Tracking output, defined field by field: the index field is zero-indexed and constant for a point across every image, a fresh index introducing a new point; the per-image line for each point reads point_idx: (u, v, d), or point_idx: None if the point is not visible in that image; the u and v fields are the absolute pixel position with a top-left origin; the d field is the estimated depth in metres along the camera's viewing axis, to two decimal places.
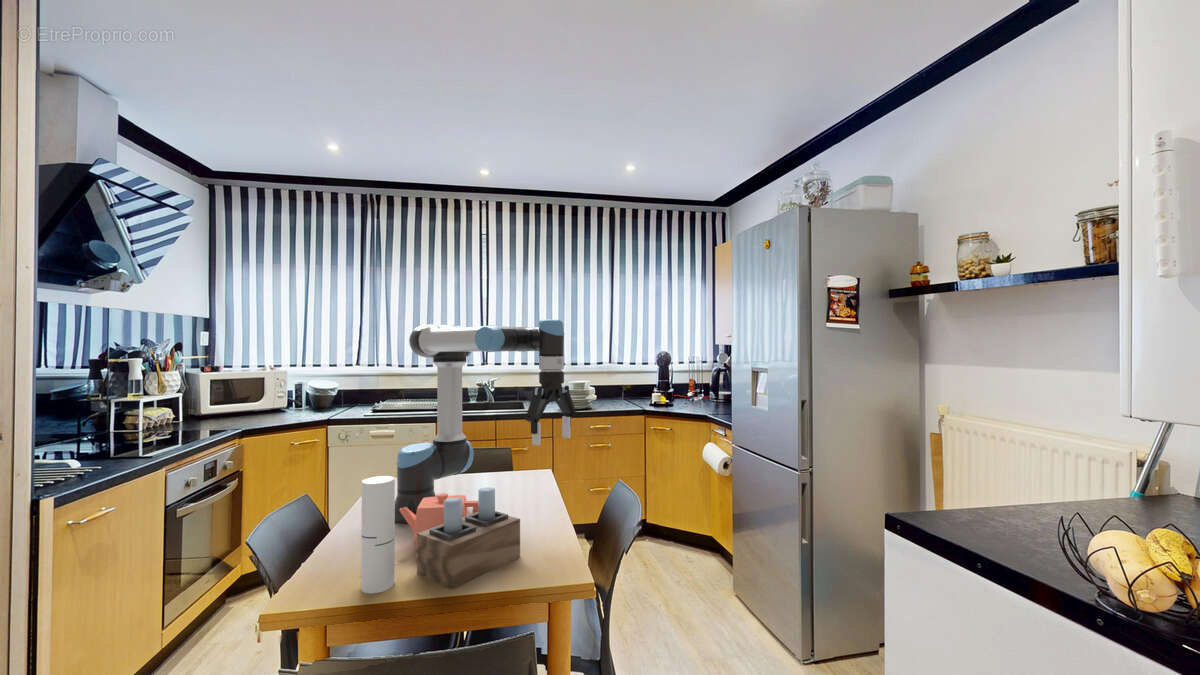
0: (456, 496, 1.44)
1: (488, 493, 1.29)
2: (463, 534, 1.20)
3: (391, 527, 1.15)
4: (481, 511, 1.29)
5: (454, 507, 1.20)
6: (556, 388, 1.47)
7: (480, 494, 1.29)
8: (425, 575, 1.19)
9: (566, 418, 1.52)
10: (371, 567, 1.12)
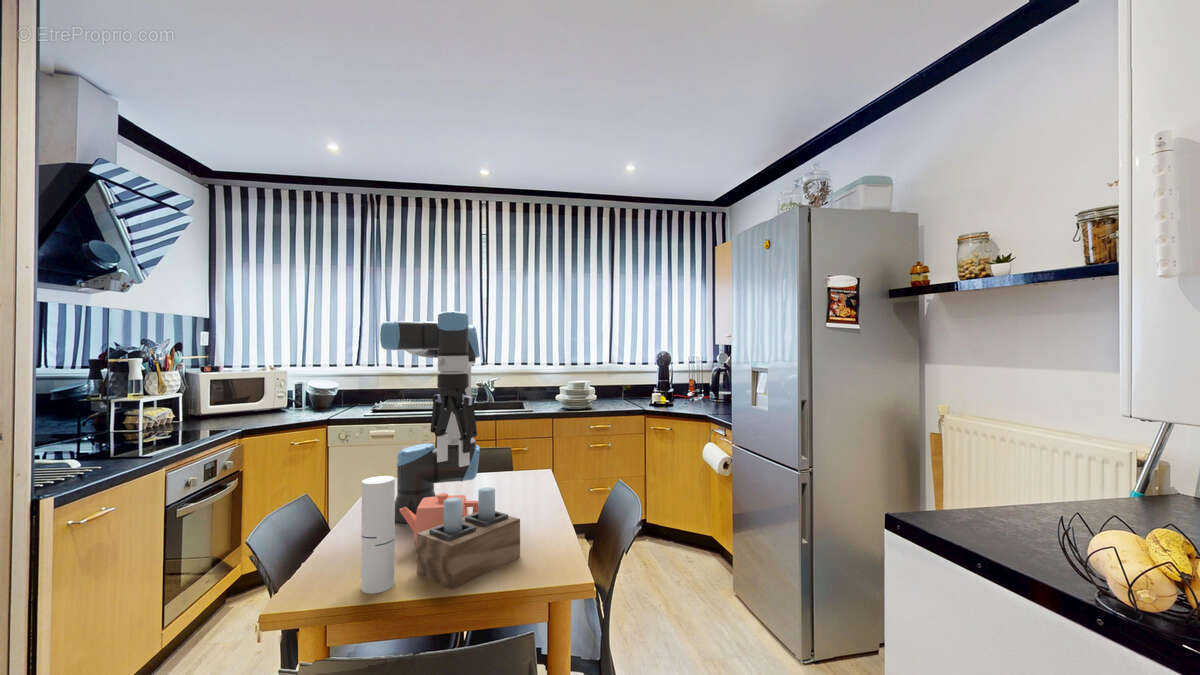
0: (456, 496, 1.44)
1: (488, 493, 1.29)
2: (463, 534, 1.20)
3: (391, 527, 1.15)
4: (481, 511, 1.29)
5: (454, 507, 1.20)
6: (452, 392, 1.21)
7: (480, 494, 1.29)
8: (425, 575, 1.19)
9: None
10: (371, 567, 1.12)
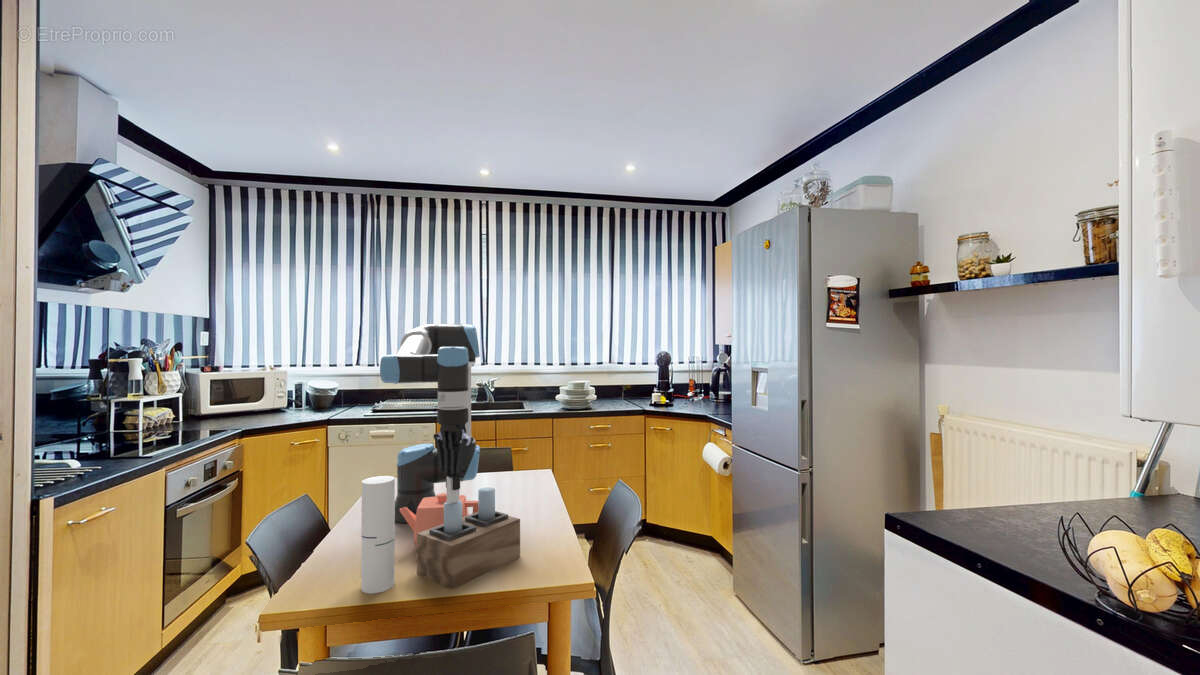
0: None
1: (488, 493, 1.29)
2: (463, 534, 1.20)
3: (391, 527, 1.15)
4: (481, 511, 1.29)
5: (455, 510, 1.20)
6: (453, 425, 1.21)
7: (480, 494, 1.29)
8: (425, 575, 1.19)
9: None
10: (371, 567, 1.12)
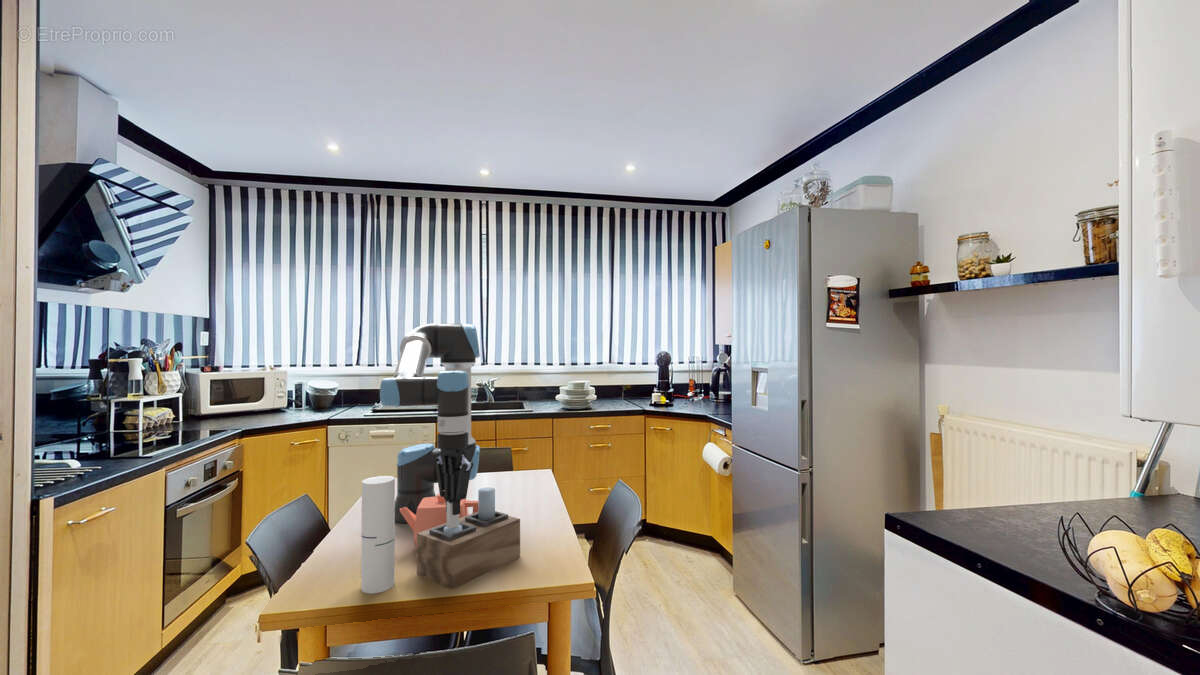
0: None
1: (488, 493, 1.29)
2: (463, 534, 1.20)
3: (391, 527, 1.15)
4: (481, 511, 1.29)
5: None
6: (453, 450, 1.20)
7: (480, 494, 1.29)
8: (425, 575, 1.19)
9: None
10: (371, 567, 1.12)
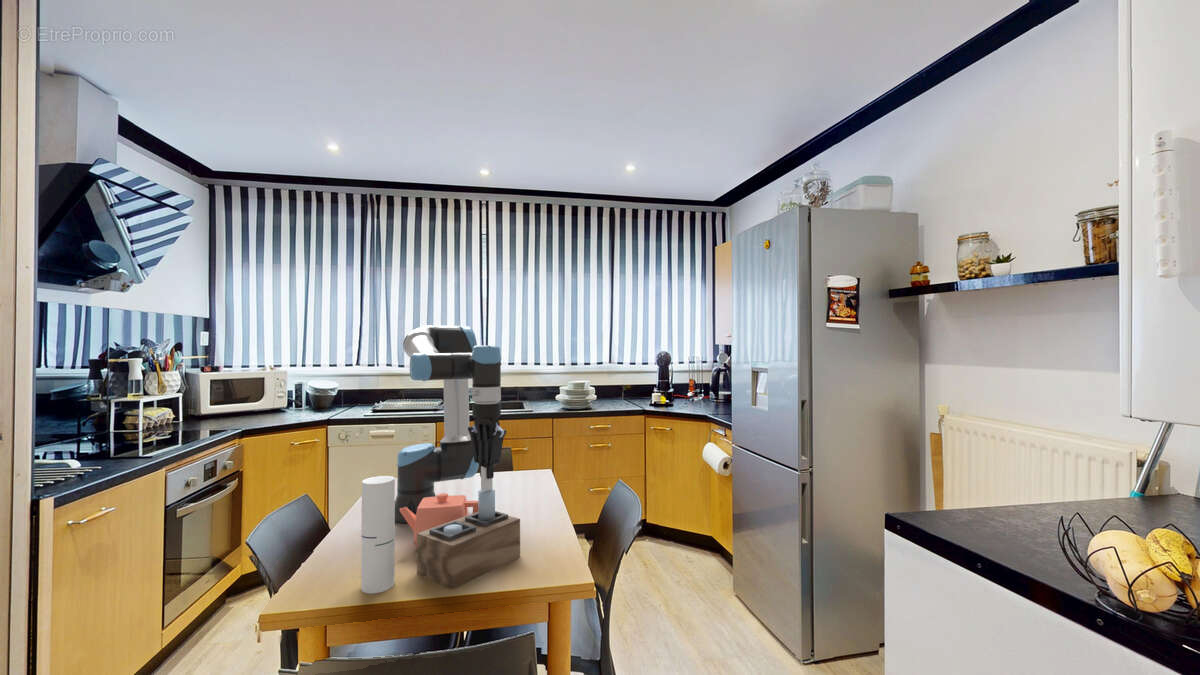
0: (456, 497, 1.44)
1: (488, 494, 1.29)
2: (463, 534, 1.20)
3: (391, 527, 1.15)
4: (481, 512, 1.29)
5: None
6: (487, 418, 1.30)
7: (480, 495, 1.29)
8: (425, 575, 1.19)
9: None
10: (371, 567, 1.12)
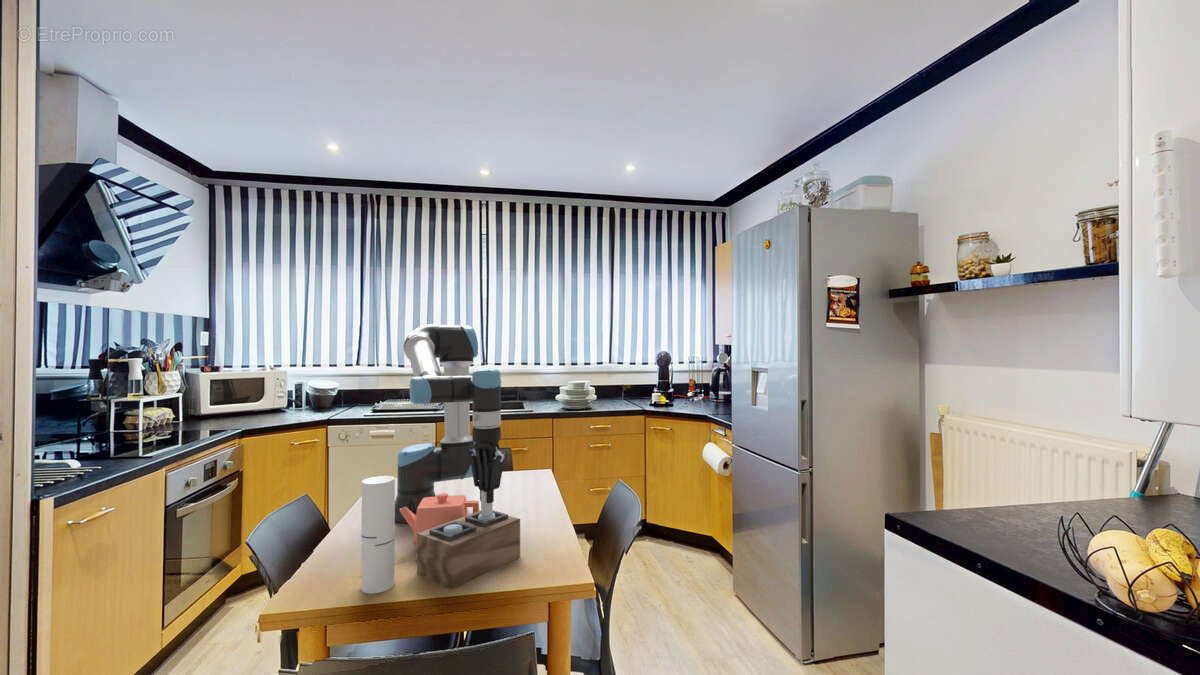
0: (456, 496, 1.44)
1: (488, 519, 1.29)
2: (463, 534, 1.20)
3: (391, 527, 1.15)
4: None
5: None
6: (487, 442, 1.29)
7: None
8: (425, 575, 1.19)
9: None
10: (371, 567, 1.12)
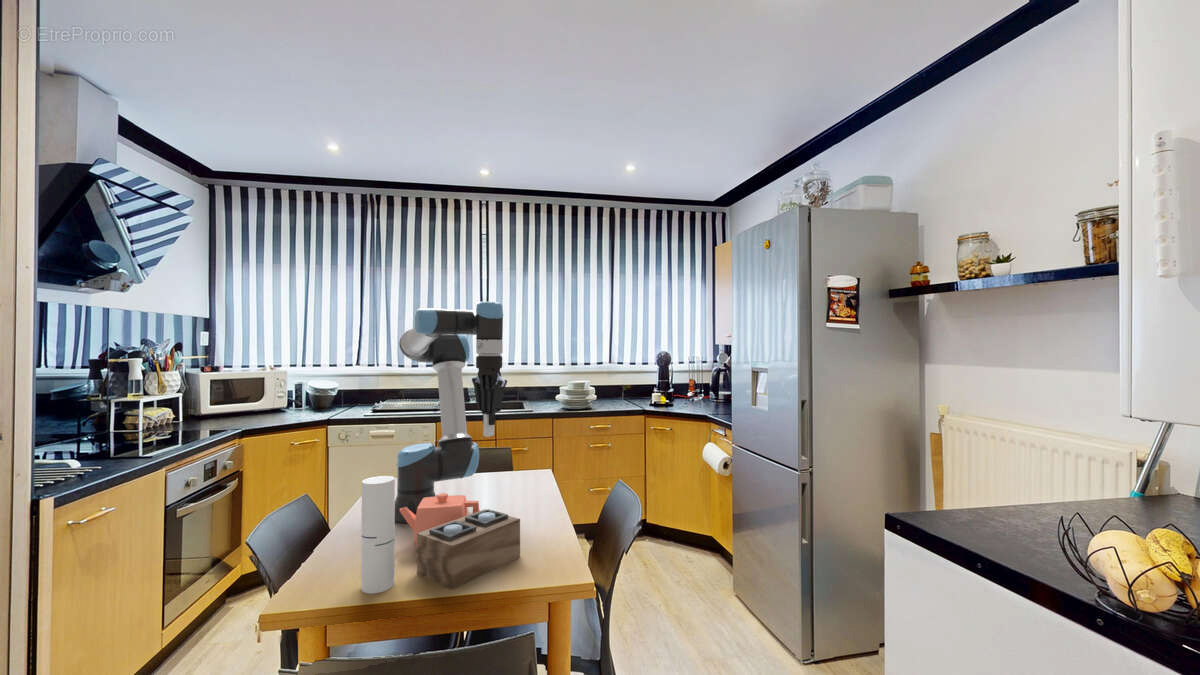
0: (456, 496, 1.44)
1: (488, 519, 1.29)
2: (463, 534, 1.20)
3: (391, 527, 1.15)
4: None
5: None
6: (490, 369, 1.40)
7: None
8: (425, 575, 1.19)
9: None
10: (371, 567, 1.12)
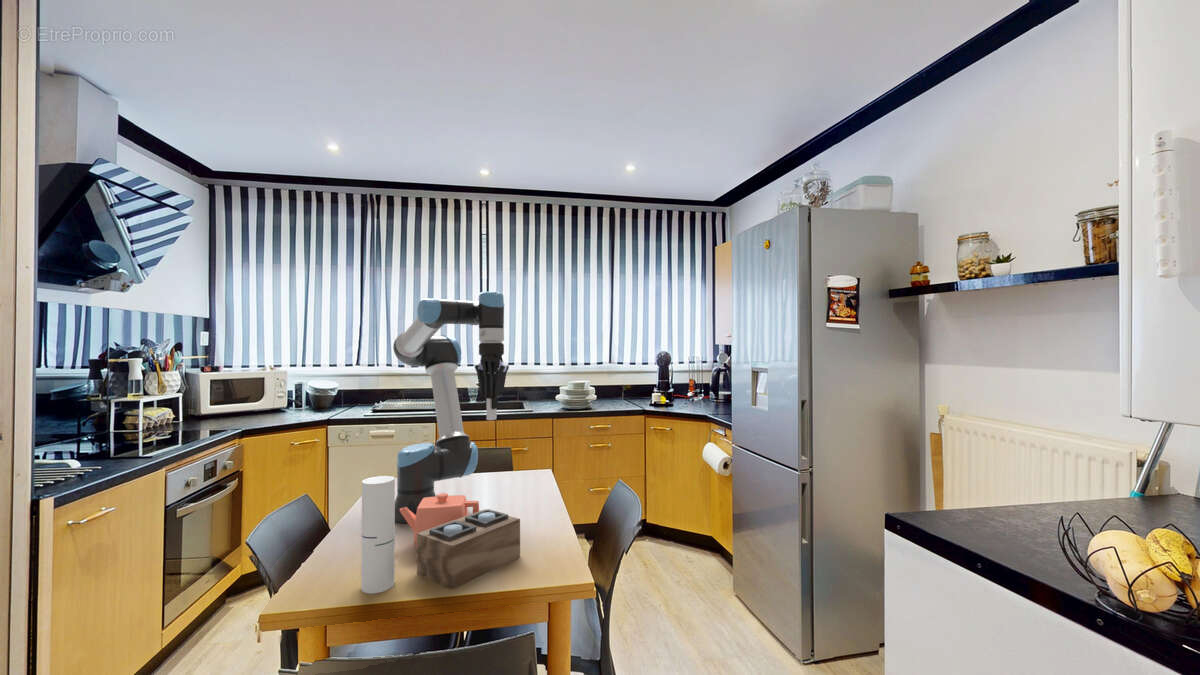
0: (456, 497, 1.44)
1: (488, 519, 1.29)
2: (463, 534, 1.20)
3: (391, 527, 1.15)
4: None
5: None
6: (492, 355, 1.47)
7: None
8: (425, 575, 1.19)
9: None
10: (371, 567, 1.12)
